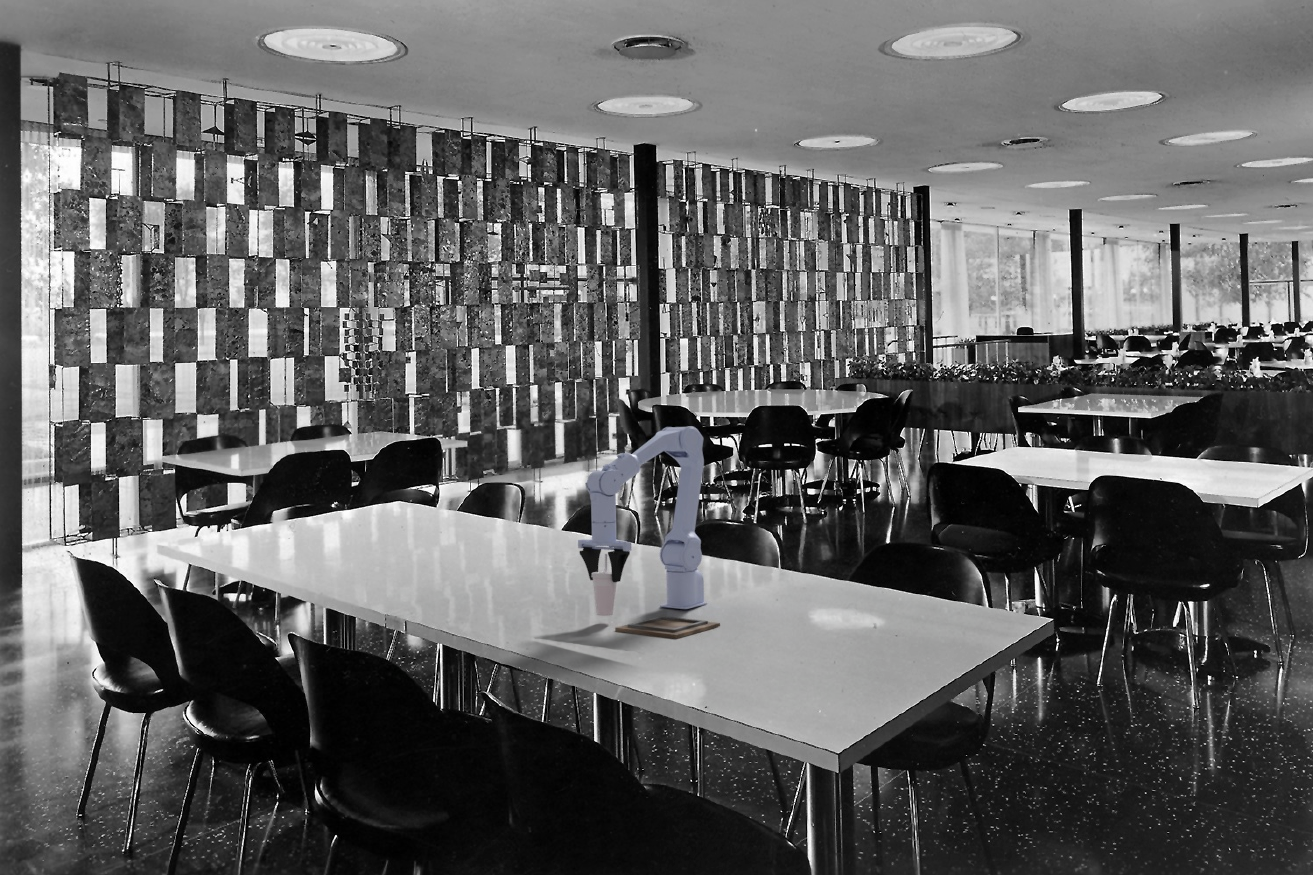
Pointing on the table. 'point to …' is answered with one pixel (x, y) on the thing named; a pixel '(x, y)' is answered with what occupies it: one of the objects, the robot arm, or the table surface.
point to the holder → (668, 627)
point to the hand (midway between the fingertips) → (605, 580)
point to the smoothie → (604, 591)
